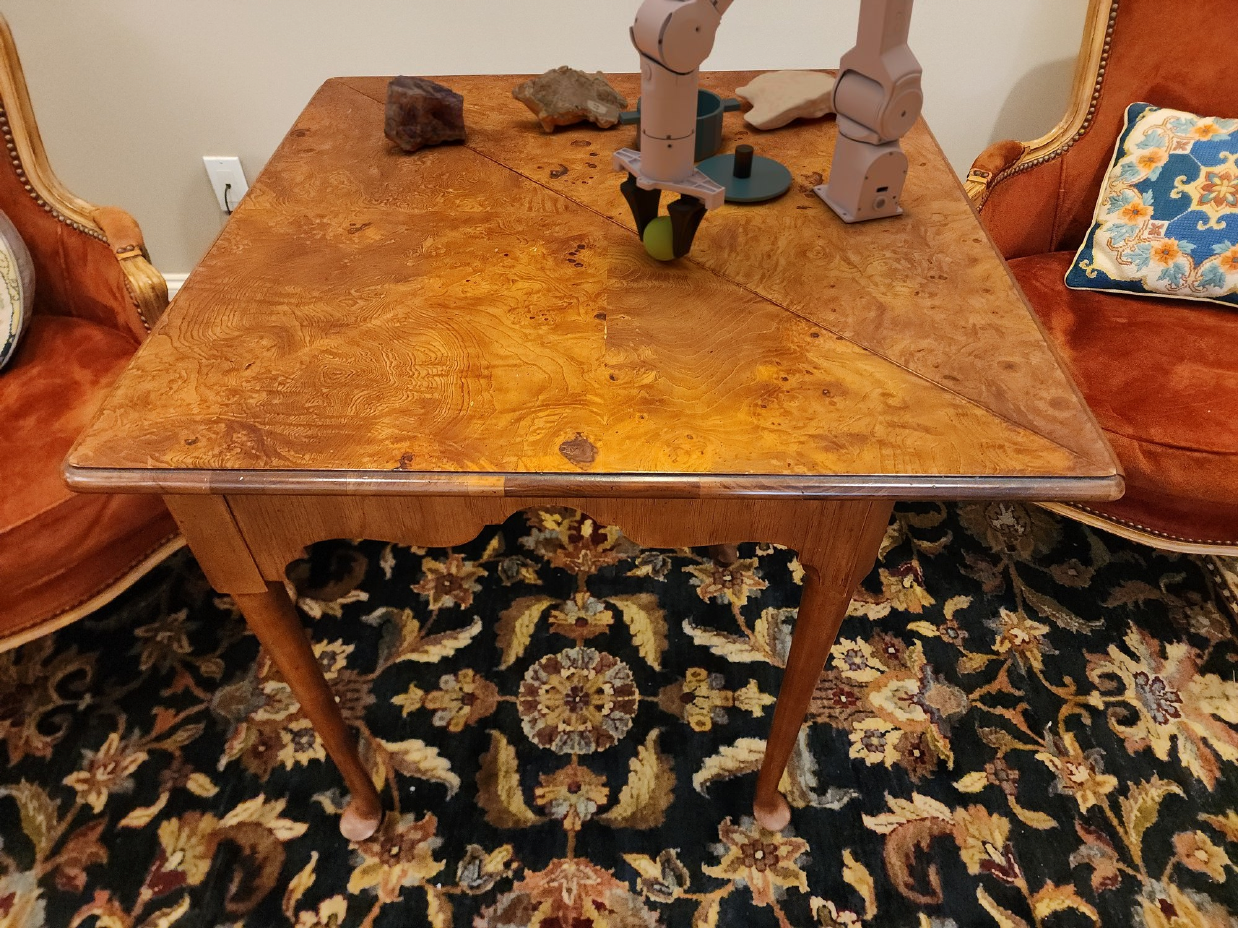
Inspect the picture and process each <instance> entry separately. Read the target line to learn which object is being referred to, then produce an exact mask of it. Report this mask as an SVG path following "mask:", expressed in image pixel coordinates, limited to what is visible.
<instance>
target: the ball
mask: <svg viewBox="0 0 1238 928" xmlns="http://www.w3.org/2000/svg"><path fill="white" fill-rule="evenodd" d="M643 242H644V243H643ZM643 242H642V243H643V246H644V249H645V250H646V252H647V253H648V254H649V256H651V257H652V258H653V259H655V260H658V261H663V262H666V261H671V260H674V259H676V258H675V257H674V255H673V230H672V224H671V219H670V215H658V217H657V218H655V219H653V220H652V221H651V222H650V223H649V224H648V225H647V227H646V228H645V231H644V235H643Z"/></svg>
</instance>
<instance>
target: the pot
mask: <svg viewBox="0 0 1238 928" xmlns="http://www.w3.org/2000/svg"><path fill="white" fill-rule="evenodd" d="M741 108H742V103H741V102H740V101H739V100H738V99H737V98H736V97H731V98H730V97H729V98H722V97H721V96H720V95H719V94H718V93H714V92H712V91H710V90H707V89H703V88H698V99H697V116H696V135H695V150H694V163H696V162H700V161H704V160H706V159H708V158H711V157H714V156H716V154H717V153H718V152H719V151H720V150H721V147H722V135H723V124H724V113H733V112H739V111H741ZM618 122H620V123H621V125H622V126H623V127H626V126H633V125H636V146H637V149H638V150H639V152H641V96H640V97H638V99H637V103H636V109H635V110H628V111H627V110H626V111H621V112H620V113H619V119H618Z"/></svg>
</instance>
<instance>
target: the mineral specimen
mask: <svg viewBox="0 0 1238 928" xmlns="http://www.w3.org/2000/svg"><path fill="white" fill-rule="evenodd" d="M511 96H512V98H513V99H514V100H516V101H518V102H520V103H522V104H523V105H524V106H525V107H526V108H527V109H528V110H529V111H530V112H531V113H532V114H533V115H534V116H535V117H536V118H537V120H538V122H539V124H540V125H542V127H543V129H544V131H545V132H547V133H548V132H549V133H553V131H554V128H555V126H568V125H572V124H577V123H580V122H583V121H584V120H587V121H589V122H590V123H596V125H597V126H598V127H599V128H601V129H608V128H610V127H611V126H612V125H616V124H618V122H619V113H620V112H623V110H626V109H627V108H628V107H629V101H628V99H627V98H626V97H625V96H623V95H622V94H621V93H620V92H619V91H617V90H616V89H614V87H612V86H611V84H610V83H609V82H608V79H607V76H606V75H605V73H604V72H603V71H602V70H597V71H596V73H594V74H593V75H591V73H588V72H586V71H584V70H583V69H579V70H577V69H573V68H572V67H569V66H568V65H567V64H566V65H565V64H564V65H562V66H559V67H558V68H550V69H548V70H547V71H545V72H544V73H542V74H541V75H539V76H537V77H535V78H532V79H529V80H526V81H523V82H522V83H519V84H518V85H516V86H515V87H513V88H512V89H511Z"/></svg>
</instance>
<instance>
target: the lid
mask: <svg viewBox="0 0 1238 928" xmlns="http://www.w3.org/2000/svg"><path fill="white" fill-rule="evenodd" d="M754 151H755V148H754V146H753V145H750V144H746V143H743V144H738V145H736V146H735V148H734V153H725V154H718V155H713V156H711V157H709V158H707V159H704V160H701V162H700V161H699V163H697V164H696V166H694V167H695V168H697V169H698V170H699V171H701V172H702V173H703V174H704V175H706V176H707V177H708V178H709V179H711V180H712V181H713V182H715V183H716V184H718V185H720V186H722V187H725V197H724V201H725V200H726V201H732V202H740V203H741V202H746V203H747V202H749V203H750V202H759V201H766V200H769V199H770V200H771V199H773V198H775V197H778V196H780V195H782V194H784V193H786V191H788V189H789V188H790V187H791V185H792V177H793V176H792V173H791V171H790V170H789V169H788V168H787V167H786V166H785V165H784V164H782V163H781V162H779V161H777V160H775V159H772V158H769V157H767V156H762V155H757V154H754Z"/></svg>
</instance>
